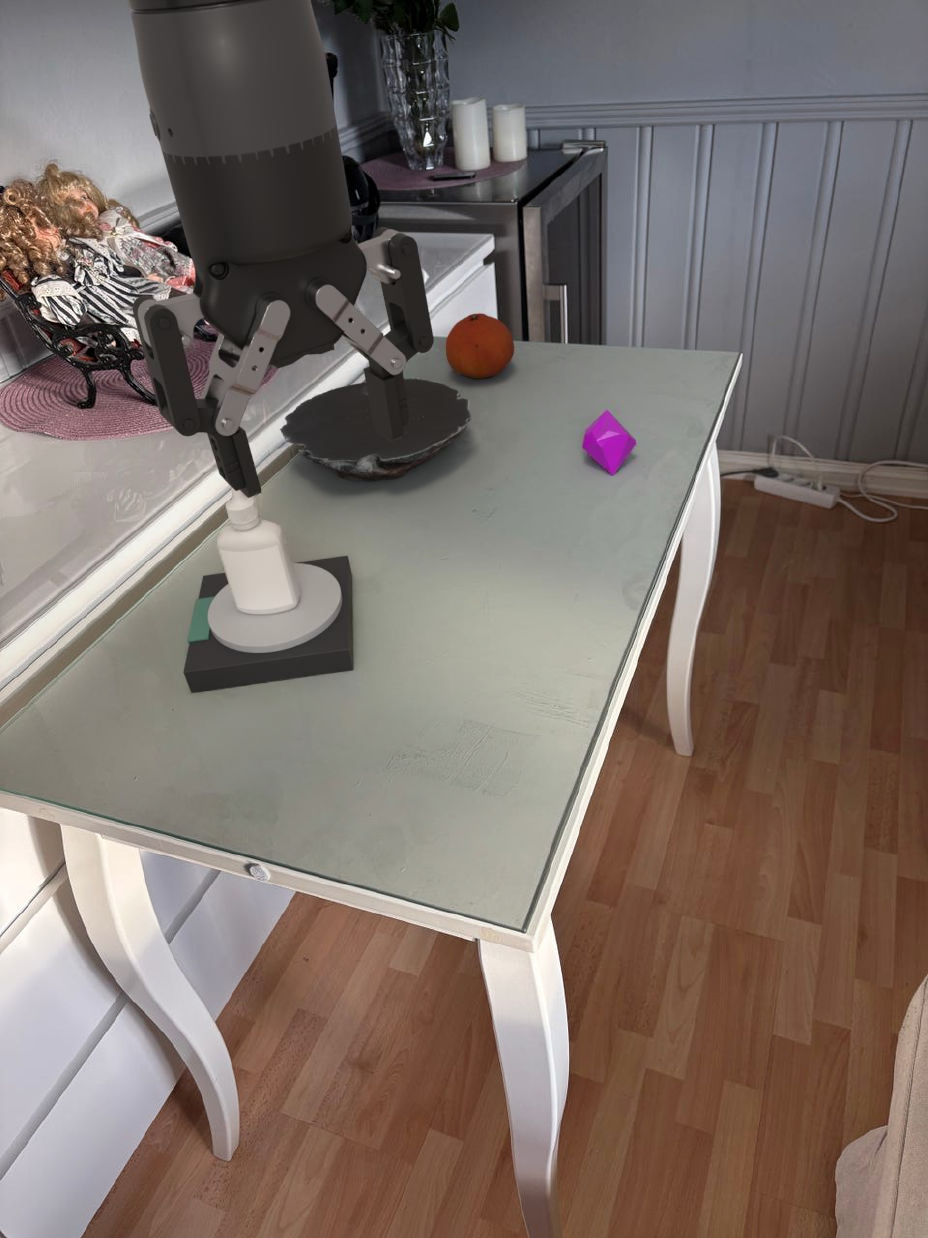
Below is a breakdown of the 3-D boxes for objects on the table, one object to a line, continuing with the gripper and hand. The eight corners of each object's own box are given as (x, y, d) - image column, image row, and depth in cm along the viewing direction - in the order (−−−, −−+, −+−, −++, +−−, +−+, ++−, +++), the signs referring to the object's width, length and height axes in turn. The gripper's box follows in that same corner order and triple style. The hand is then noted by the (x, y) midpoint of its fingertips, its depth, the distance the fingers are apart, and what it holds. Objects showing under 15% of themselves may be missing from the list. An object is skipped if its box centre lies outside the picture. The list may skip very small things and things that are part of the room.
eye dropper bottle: (278, 625, 79) (244, 508, 71) (229, 610, 81) (191, 494, 74) (309, 597, 81) (279, 480, 74) (260, 582, 84) (227, 468, 76)
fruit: (441, 388, 120) (434, 329, 115) (459, 359, 127) (453, 302, 121) (506, 390, 118) (502, 330, 113) (521, 361, 124) (518, 303, 119)
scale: (189, 693, 78) (179, 665, 76) (208, 595, 89) (199, 568, 87) (353, 670, 78) (346, 641, 76) (351, 575, 89) (346, 548, 87)
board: (344, 403, 119) (337, 366, 116) (501, 417, 112) (498, 378, 109) (256, 490, 104) (245, 450, 101) (431, 513, 96) (426, 471, 93)
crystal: (576, 461, 102) (575, 423, 99) (610, 443, 104) (610, 406, 101) (609, 477, 99) (610, 439, 96) (644, 458, 101) (645, 421, 98)
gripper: (110, 177, 33) (225, 542, 44) (435, 101, 39) (469, 441, 49) (58, 150, 39) (172, 482, 49) (352, 87, 44) (399, 397, 54)
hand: (321, 461), depth 49 cm, fingers open, 8 cm apart
